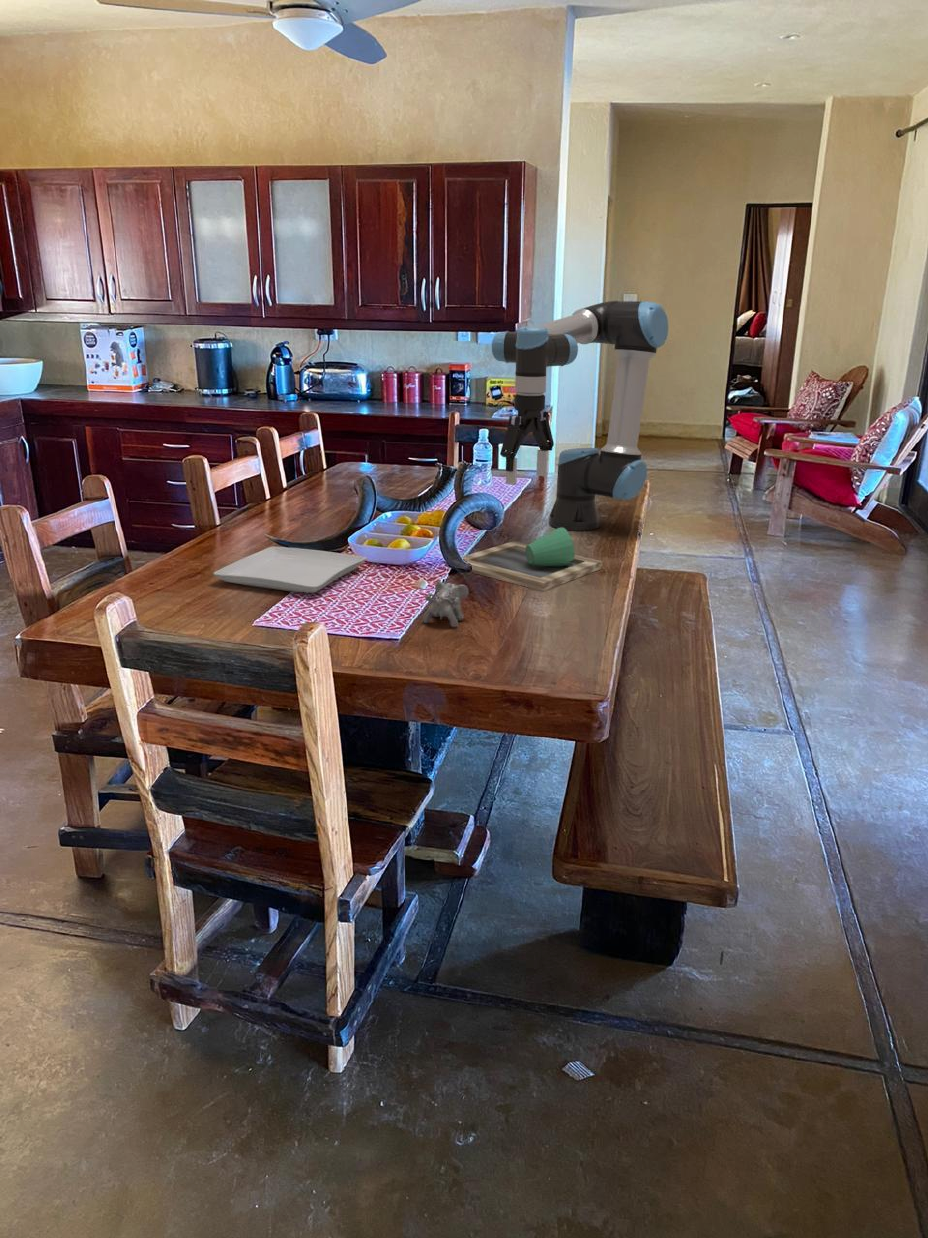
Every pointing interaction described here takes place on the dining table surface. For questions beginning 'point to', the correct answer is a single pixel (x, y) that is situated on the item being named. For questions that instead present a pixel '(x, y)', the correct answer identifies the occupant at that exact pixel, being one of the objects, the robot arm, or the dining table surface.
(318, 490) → the dining table surface
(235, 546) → the dining table surface
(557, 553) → the green tapered cup
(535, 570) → the framed board
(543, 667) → the dining table surface
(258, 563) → the square plate
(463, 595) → the elephant statuette
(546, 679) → the dining table surface
